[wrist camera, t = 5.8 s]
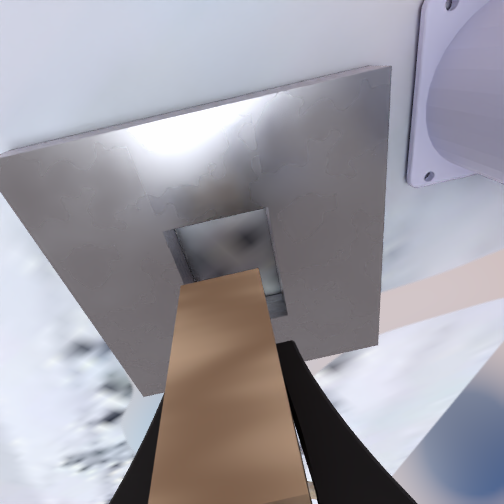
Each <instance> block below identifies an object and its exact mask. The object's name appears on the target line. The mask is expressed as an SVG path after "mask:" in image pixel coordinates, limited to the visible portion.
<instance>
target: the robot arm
mask: <svg viewBox="0 0 504 504" xmlns="http://www.w3.org/2000/svg"><path fill="white" fill-rule="evenodd" d="M446 1H447V0H425V1H424V3H423V5H422V10H421V20H420V32H419V43H418V54H417V66H416V77H415V88H414V100H413V111H412V122H411V134H410V145H409V157H408V168H407V183H408V184H409V185H410V186H412V187H414V188H419V187H423V186H427V185H432V184H436V183H441V182H445V181H449V180H454V179H458V178H462V177H467V176H471V175H475V174H480V175H482V176H485V177H487V178H490V179H492V180H495V181H497V182H499V183H502V184H504V0H452V5H451V8H450V9H449V10H448V11H447V9H446V6H445V4H446ZM428 172H430V174H429V176H428V177H427V178H425V179H424V177H425V175H426V174H427V173H428ZM276 347H277V352H278V356H279V361H280V365H281V370H282V374H283V378H284V383H285V387H286V391H287V395H288V400H289V404H290V408H291V413H292V417H293V420H294V423H295V427H296V430H297V433H298V436H299V439H300V443H301V446H302V449H303V452H304V455H305V459H306V462H307V465H308V468H309V472H310V475H311V478H312V482H313V485H314V489H315V493H316V497H317V501H318V504H417V503H416V502H415V501H414V499H413V498H411V496H410V495H409V494H408V493H407V492H406V491H405V490H404V489H403V488H402V487H401V486H400V485H399V484H398V483H397V482H396V481H395V479H394V478H393V477H392V476H391V475H390V474H389V473H388V472H387V471H386V470H385V469H384V468H383V466H382V465H381V464H380V463H379V462H378V461H377V460H376V458H375V457H374V456H373V455H372V454H371V453H370V452H369V450H368V449H367V448H366V447H365V446H364V444H363V443H362V442H361V441H360V440H359V439H358V437H357V436H356V435H355V434H354V432H353V431H352V430H351V429H350V427H349V426H348V425H347V424H346V422H345V421H344V420H343V418H342V417H341V416H340V414H339V413H338V412H337V410H336V409H335V408H334V406H333V405H332V404H331V402H330V401H329V399H328V398H327V396H326V395H325V394H324V392H323V391H322V389H321V388H320V386H319V385H318V383H317V382H316V380H315V379H314V377H313V375H312V374H311V372H310V370H309V369H308V367H307V365H306V364H305V362H304V360H303V358H302V356H301V354H300V352H299V350H298V348H297V345H296V343H295V341H293V340H290V341H285V342H281V343H276ZM164 394H165V392H164ZM163 401H164V395H163V397H162V400H161V402H160V404H159V407H158V409H157V411H156V414H155V416H154V418H153V420H152V422H151V425H150V427H149V429H148V431H147V433H146V435H145V438H144V440H143V441H142V443H141V445H140V448H139V449H138V451H137V453H136V455H135V457H134V459H133V461H132V463H131V465H130V467H129V469H128V471H127V473H126V475H125V476H124V478H123V480H122V482H121V484H120V485H119V487H118V489H117V491H116V492H115V494H114V496H113V498H112V499H111V501H110V503H109V504H148V501H149V494H150V487H151V481H152V474H153V467H154V461H155V454H156V447H157V441H158V434H159V427H160V421H161V414H162V407H163Z"/></svg>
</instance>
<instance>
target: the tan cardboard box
mask: <svg viewBox="0 0 504 504" xmlns="http://www.w3.org/2000/svg"><path fill="white" fill-rule="evenodd" d="M148 504H312V501H311V496H310V492H309V487H308V483H307V478H306V474H305V469H304V465H303V461H302V456H301V452H300V447H299V443H298V438H297V434H296V429H295V425H294V421H293V417H292V413H291V408H290V404H289V400H288V395H287V391H286V387H285V383H284V378H283V374H282V370H281V365H280V361H279V356H278V352H277V347H276V341H275V337H274V332H273V328H272V324H271V320H270V315H269V311H268V307H267V302H266V298H265V294H264V289H263V285H262V281H261V277H260V272H259V268H256V269H252V270H247V271H243V272H238V273H234V274H230V275H225V276H221V277H217V278H212V279H208V280H203V281H199V282H195V283H190V284H186V285H182V286H181V287H180V294H179V301H178V307H177V314H176V321H175V327H174V334H173V341H172V347H171V354H170V361H169V367H168V374H167V381H166V387H165V394H164V401H163V407H162V414H161V421H160V427H159V434H158V441H157V447H156V454H155V461H154V467H153V474H152V481H151V487H150V494H149V501H148Z"/></svg>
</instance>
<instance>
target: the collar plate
mask: <svg viewBox="0 0 504 504" xmlns="http://www.w3.org/2000/svg"><path fill="white" fill-rule="evenodd" d="M391 70H392V66H365V67H361V68H357V69H352V70H348V71H344V72H340V73H335V74H331V75H327V76H323V77H318V78H314V79H310V80H306V81H301V82H297V83H293V84H289V85H284V86H280V87H276V88H272V89H267V90H263V91H259V92H255V93H250V94H246V95H242V96H238V97H234V98H229V99H225V100H221V101H217V102H212V103H208V104H204V105H200V106H195V107H191V108H187V109H183V110H178V111H174V112H170V113H166V114H161V115H157V116H153V117H149V118H144V119H140V120H136V121H132V122H127V123H123V124H119V125H115V126H111V127H106V128H102V129H98V130H94V131H89V132H85V133H81V134H77V135H72V136H68V137H64V138H60V139H55V140H51V141H47V142H43V143H38V144H34V145H30V146H26V147H21V148H17V149H13V150H9V151H7V152H5V153H2V154H0V192H1V193H2V195H3V196H4V198H5V199H6V200H7V202H8V203H9V205H10V206H11V208H12V209H13V210H14V212H15V213H16V215H17V216H18V218H19V219H20V220H21V222H22V223H23V225H24V226H25V228H26V229H27V231H28V232H29V233H30V235H31V236H32V238H33V239H34V241H35V242H36V243H37V245H38V246H39V248H40V249H41V251H42V252H43V253H44V255H45V256H46V258H47V259H48V261H49V262H50V263H51V265H52V266H53V268H54V269H55V271H56V272H57V273H58V275H59V276H60V278H61V279H62V281H63V282H64V283H65V285H66V286H67V288H68V289H69V291H70V292H71V294H72V295H73V296H74V298H75V299H76V301H77V302H78V304H79V305H80V306H81V308H82V309H83V311H84V312H85V314H86V315H87V316H88V318H89V319H90V321H91V322H92V324H93V325H94V326H95V328H96V329H97V331H98V332H99V334H100V335H101V336H102V338H103V339H104V341H105V342H106V344H107V345H108V346H109V348H110V349H111V351H112V352H113V354H114V355H115V357H116V358H117V359H118V361H119V362H120V364H121V365H122V367H123V368H124V369H125V371H126V372H127V374H128V375H129V377H130V378H131V379H132V381H133V382H134V384H135V385H136V387H137V388H138V389H139V391H140V392H141V394H142V395H143V396H144V397H145V396H150V395H154V394H158V393H163V392H165V387H166V381H167V374H168V367H169V361H170V354H171V347H172V341H173V334H174V327H175V321H176V314H177V307H178V301H179V294H180V287H181V286H182V285H186V284H190V283H195V282H194V279H193V277H192V274H191V272H190V269H189V267H188V264H187V262H186V259H185V256H184V254H183V251H182V249H181V246H180V244H179V241H178V238H177V236H176V233H175V231H174V229H176V228H180V227H184V226H189V225H193V224H197V223H202V222H206V221H210V220H215V219H219V218H223V217H228V216H232V215H236V214H241V213H245V212H250V211H254V210H258V209H263V208H265V209H266V214H267V220H268V225H269V230H270V236H271V241H272V246H273V251H274V257H275V262H276V267H277V272H278V278H279V283H280V288H281V293H280V294H276V295H271V296H267V297H265V298H266V302H267V307H268V311H269V315H270V320H271V324H272V328H273V332H274V337H275V341H276V343H281V342H285V341H290V340H293V341H295V343H296V345H297V348H298V350H299V352H300V354H301V356H302V358H303V360H304V361H308V360H312V359H317V358H322V357H326V356H330V355H335V354H340V353H344V352H349V351H353V350H358V349H362V348H367V347H371V346H376V345H378V334H379V333H378V332H379V313H380V293H381V273H382V253H383V232H384V212H385V192H386V172H387V151H388V131H389V111H390V91H391Z"/></svg>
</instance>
